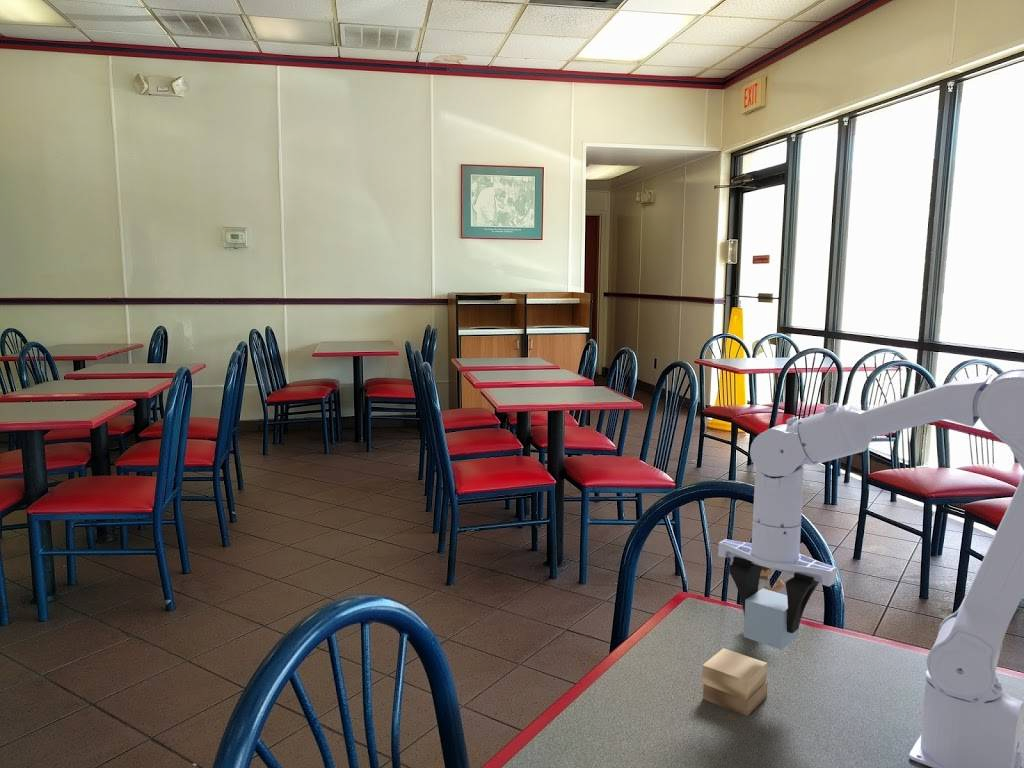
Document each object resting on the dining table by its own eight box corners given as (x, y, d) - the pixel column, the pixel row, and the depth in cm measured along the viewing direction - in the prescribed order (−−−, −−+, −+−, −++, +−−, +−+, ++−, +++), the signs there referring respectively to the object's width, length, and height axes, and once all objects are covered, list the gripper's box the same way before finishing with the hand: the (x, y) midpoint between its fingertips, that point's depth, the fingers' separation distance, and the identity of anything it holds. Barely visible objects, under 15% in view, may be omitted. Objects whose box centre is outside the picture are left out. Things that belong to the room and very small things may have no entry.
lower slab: (766, 699, 97) (767, 681, 96) (747, 719, 92) (748, 700, 92) (723, 683, 101) (724, 665, 100) (702, 701, 96) (703, 683, 96)
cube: (798, 636, 96) (800, 599, 95) (781, 649, 92) (783, 611, 91) (760, 624, 99) (762, 588, 98) (743, 636, 95) (745, 599, 95)
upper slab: (766, 681, 96) (766, 662, 96) (746, 700, 92) (747, 681, 92) (722, 665, 100) (723, 648, 100) (701, 683, 96) (702, 664, 95)
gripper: (847, 526, 91) (840, 630, 93) (737, 502, 101) (732, 597, 103) (826, 540, 86) (819, 650, 88) (712, 513, 96) (708, 613, 98)
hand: (771, 623), depth 95 cm, fingers closed on cube, 5 cm apart
